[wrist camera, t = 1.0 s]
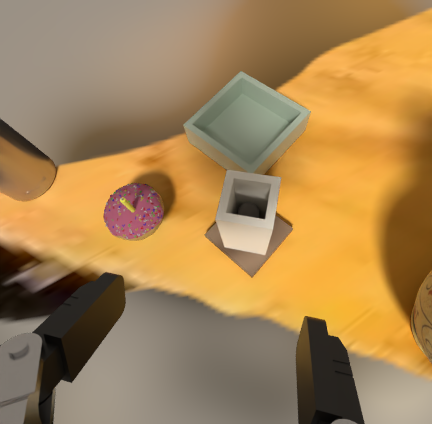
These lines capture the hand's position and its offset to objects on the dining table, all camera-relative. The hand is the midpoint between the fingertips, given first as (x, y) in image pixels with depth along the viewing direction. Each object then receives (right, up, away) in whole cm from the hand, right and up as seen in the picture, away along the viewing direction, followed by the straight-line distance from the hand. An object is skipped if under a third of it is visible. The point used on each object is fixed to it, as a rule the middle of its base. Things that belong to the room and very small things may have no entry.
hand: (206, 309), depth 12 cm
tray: (+6, +17, +35) cm, 39 cm away
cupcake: (-11, +3, +31) cm, 33 cm away
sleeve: (+5, +1, +27) cm, 28 cm away
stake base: (+5, +1, +29) cm, 29 cm away
